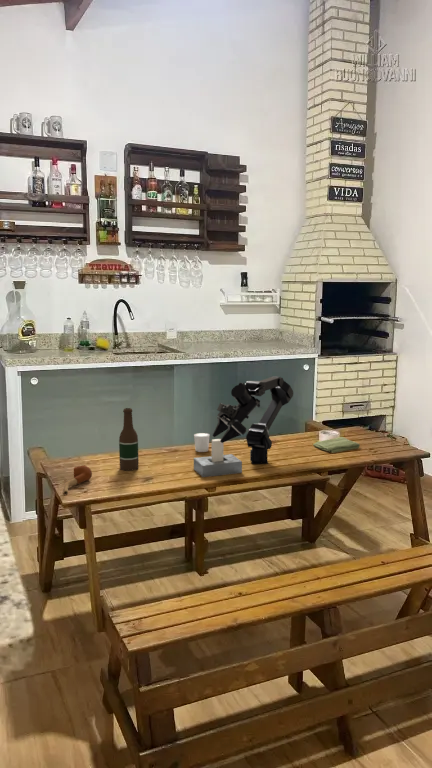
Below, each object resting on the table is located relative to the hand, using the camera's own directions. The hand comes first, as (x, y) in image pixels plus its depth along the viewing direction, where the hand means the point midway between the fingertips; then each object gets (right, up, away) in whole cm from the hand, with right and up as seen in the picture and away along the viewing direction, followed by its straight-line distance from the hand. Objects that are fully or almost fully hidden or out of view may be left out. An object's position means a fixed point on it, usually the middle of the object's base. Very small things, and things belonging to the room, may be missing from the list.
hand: (217, 439), depth 250 cm
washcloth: (+53, -7, +35) cm, 64 cm away
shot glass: (-7, -8, +32) cm, 33 cm away
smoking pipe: (-51, -16, -14) cm, 55 cm away
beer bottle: (-35, -12, +6) cm, 37 cm away
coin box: (0, -13, +2) cm, 13 cm away
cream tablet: (0, -13, +2) cm, 13 cm away
